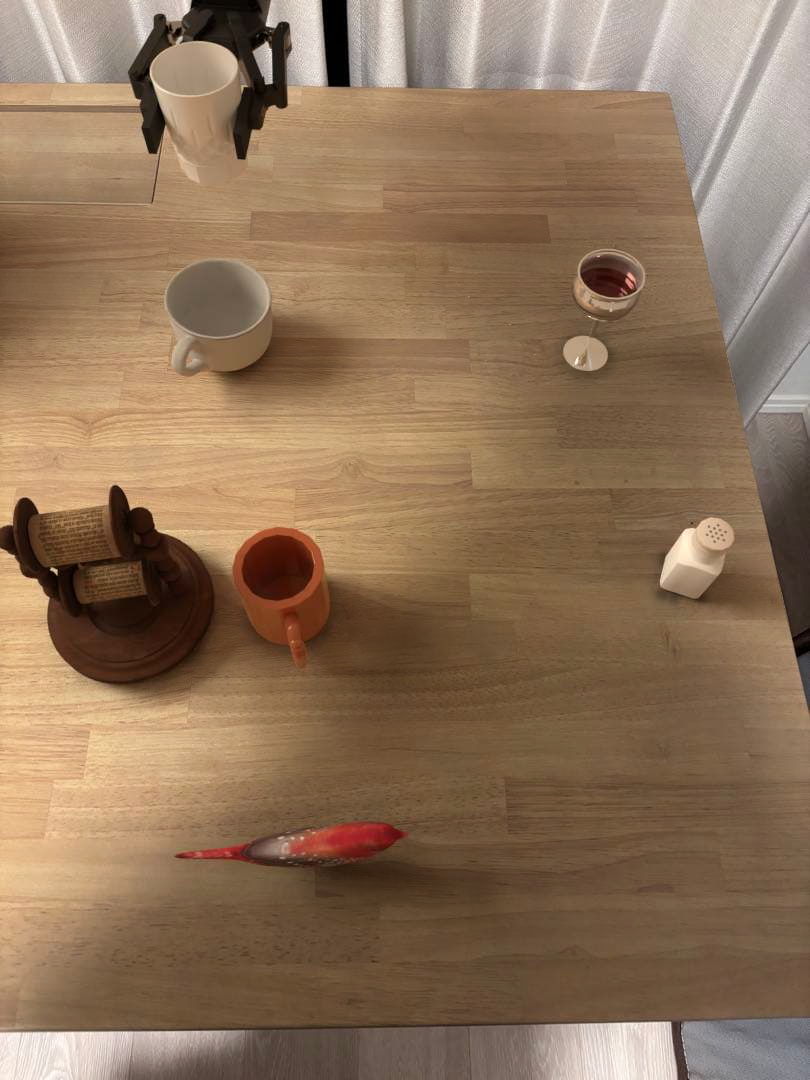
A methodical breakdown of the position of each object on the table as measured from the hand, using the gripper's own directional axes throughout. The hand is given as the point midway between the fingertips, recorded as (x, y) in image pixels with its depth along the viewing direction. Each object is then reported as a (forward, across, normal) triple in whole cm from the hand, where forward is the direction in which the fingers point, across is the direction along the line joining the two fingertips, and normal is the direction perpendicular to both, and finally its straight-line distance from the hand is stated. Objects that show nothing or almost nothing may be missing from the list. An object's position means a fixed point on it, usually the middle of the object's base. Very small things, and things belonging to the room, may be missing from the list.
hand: (194, 143), depth 75 cm
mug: (+38, -12, -21) cm, 45 cm away
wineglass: (+4, -40, -21) cm, 45 cm away
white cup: (-5, 0, -6) cm, 8 cm away
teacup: (+8, 0, -21) cm, 22 cm away
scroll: (+38, +3, -21) cm, 44 cm away
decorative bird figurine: (+58, -15, -21) cm, 64 cm away
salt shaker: (+31, -48, -21) cm, 61 cm away
